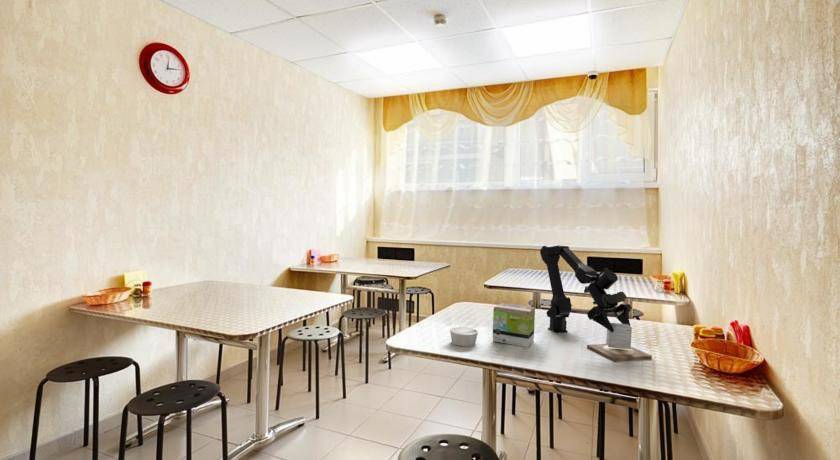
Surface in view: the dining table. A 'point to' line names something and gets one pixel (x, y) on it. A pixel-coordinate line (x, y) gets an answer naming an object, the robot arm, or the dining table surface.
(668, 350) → the dining table surface
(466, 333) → the ramekin
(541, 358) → the dining table surface
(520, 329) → the tea box
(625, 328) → the medicine box
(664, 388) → the dining table surface
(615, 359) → the walnut board
